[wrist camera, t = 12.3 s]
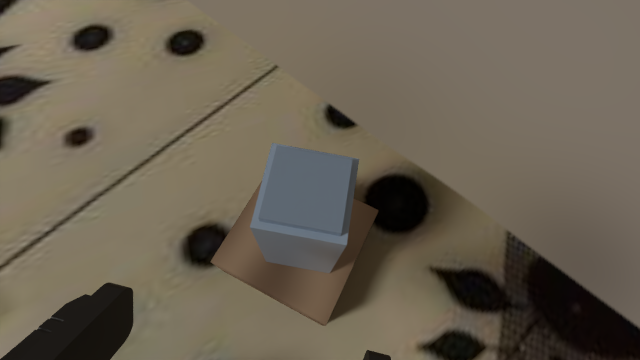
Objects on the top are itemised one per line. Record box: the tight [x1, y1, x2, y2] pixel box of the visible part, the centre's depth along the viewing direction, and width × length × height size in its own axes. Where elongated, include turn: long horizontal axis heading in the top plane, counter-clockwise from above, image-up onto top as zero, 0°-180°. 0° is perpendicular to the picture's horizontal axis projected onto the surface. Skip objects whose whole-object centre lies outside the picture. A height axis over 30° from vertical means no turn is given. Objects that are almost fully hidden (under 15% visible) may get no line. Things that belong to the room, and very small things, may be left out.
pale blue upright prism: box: [250, 143, 359, 273], centre depth 23 cm, size 5×5×11 cm
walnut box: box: [211, 181, 379, 326], centre depth 30 cm, size 10×10×5 cm
